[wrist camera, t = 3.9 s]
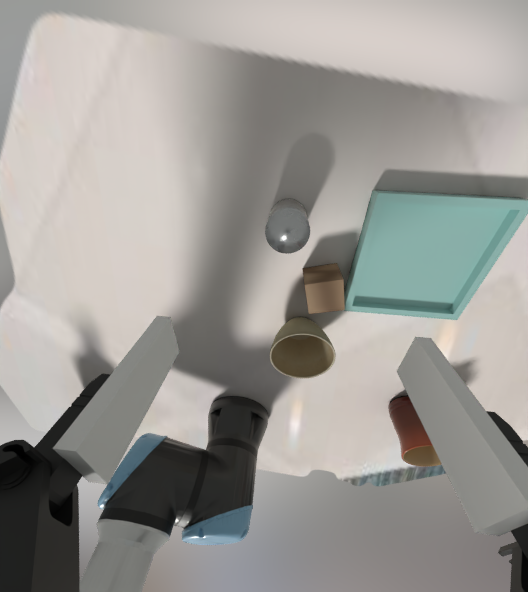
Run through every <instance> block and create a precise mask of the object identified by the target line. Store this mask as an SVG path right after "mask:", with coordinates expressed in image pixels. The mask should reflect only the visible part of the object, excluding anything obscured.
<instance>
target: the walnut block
mask: <svg viewBox="0 0 528 592" xmlns="http://www.w3.org/2000/svg"><path fill="white" fill-rule="evenodd" d="M303 275H304V284H305V291H306V298H307V305H308V311H309V314H314V313H322V312H331V311H339V310H345V304H344V280H343V277H342V275H341V272H340V270H339V267H338V265H337V263H334V264H327V265H321V266H315V267H309V268H303Z"/></svg>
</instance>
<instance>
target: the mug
mask: <svg viewBox="0 0 528 592" xmlns="http://www.w3.org/2000/svg"><path fill="white" fill-rule="evenodd" d="M388 408H389V414H390V418H391V420H392V422H393V425H394V427H395V430H396V432H397V435H398V437H399V440H400V445H401V456H402V459H403V460H404V461H405V462H406V463H408V464H411V465H415V466H436V465H441V464H442V463H441V461H440V459H439V457H438V455H437V453H436V451H435V449H434V447H433V445H432V443H431V441H430V439H429V437H428V435H427V433H426V431H425V428H424V426H423V424H422V422H421V420H420V418H419V416H418V414H417V412H416V410H415V408H414V406H413V404H412V402H411V400H410V398H409V396H404V397H399V398H396V399H394V400H393V401H392V402H391V403H390V404H389V407H388Z"/></svg>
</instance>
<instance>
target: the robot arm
mask: <svg viewBox="0 0 528 592" xmlns="http://www.w3.org/2000/svg"><path fill="white" fill-rule="evenodd" d="M178 353H179V348H178V344H177V340H176V336H175V332H174V329H173V325H172V321H171V317H164V316H157V317H156V318H155V319H154V321H153V322H152V323H151V324H150V326H149V327H148V328H147V330H146V331H145V332H144V333H143V335H142V336H141V337H140V338H139V340H138V341H137V342H136V343H135V345H134V346H133V347H132V349H131V350H130V351H129V352H128V354H127V355H126V356H125V357H124V359H123V360H122V361H121V362H120V364H119V365H118V366H117V368H116V369H115V370H114V371H113V373H112V374H111V375H109V374H101V375H100V376H99V377H97V378H96V379H95V380H93V381H92V382H91V383H89V384H88V386H87V387H86V388H85V389H84V390H83V391H82V393H81V394H80V396H79V397H77V399H76V400H75V401H74V402H73V403H72V406H71V407H69V408H68V409H67V410H66V411H65V413H64V414H63V415H62V416H61V417H60V419H59V420H58V421H57V422H56V423H55V424H54V426H53V427H52V428H51V429H50V430H49V431H48V433H47V434H46V435H45V436H44V437H43V439H42V440H41V441H40V442H39V443H38V444H37V445H36V446H35V447H33V446H31V445H30V444H29V443H27V442H26V441H24V440H14V441H11V442H8V443H5V444H3V445H1V446H0V592H142V589H143V586H144V583H145V580H146V577H147V574H148V571H149V568H150V565H151V562H152V559H153V556H154V554H155V553H156V551H157V550H158V549H159V548H160V547H161V546H162V545H164V544H165V543H166V542H167V541H168V540H169V537H170V535H171V531H172V528H173V525H174V526H179V527H182V528H184V530H183V531H182V540H183V541H184V542H186V543H187V542H188V543H191V544H201V545H218V544H230V543H235V542H239V541H241V540H243V539H244V538H245V536H246V535H247V533H248V530H249V525H250V518H251V511H252V509H253V505H252V503H253V493H254V482H255V472H256V462H257V453H258V448H259V446H260V443H261V441H262V438H263V436H264V433H265V431H266V428H267V424H268V413H267V411H266V410H265V408H264V407H263V406H261V405H260V404H258V403H257V402H255V401H253V400H250V399H247V398H242V397H224V398H220V399H218V400H216V401H215V402H213V404H212V405H211V408H210V411H209V415H208V445H207V448H206V450H204V449H201V448H198V447H195V446H192V445H189V444H185V443H182V442H179V441H176V440H173V439H170V438H168V437H167V436H160V435H156V434H152V433H147V434H144V435H142V436H141V437H140V438H139V439H138V440H137V441H136V442H135V444H134V445H133V446H132V448H131V449H130V451H129V452H128V454H127V455H126V456H125V458H124V460H123V461H122V462H121V464H120V465H119V463H120V461H121V459H122V457H123V455H124V454H125V452H126V450H127V448H128V446H129V444H130V442H131V441H132V439H133V437H134V435H135V433H136V431H137V429H138V428H139V426H140V424H141V422H142V420H143V418H144V416H145V415H146V413H147V411H148V409H149V407H150V405H151V404H152V402H153V400H154V398H155V396H156V394H157V392H158V391H159V389H160V387H161V385H162V383H163V381H164V379H165V378H166V376H167V374H168V372H169V370H170V368H171V366H172V365H173V363H174V361H175V359H176V357H177V355H178ZM397 373H398V375H399V377H400V379H401V381H402V383H403V385H404V387H405V389H406V391H407V394H408V396H409V398H410V400H411V402H412V404H413V406H414V408H415V410H416V412H417V414H418V416H419V418H420V420H421V422H422V424H423V426H424V428H425V431H426V433H427V435H428V437H429V439H430V441H431V443H432V445H433V447H434V449H435V451H436V453H437V455H438V457H439V459H440V461H441V463H442V465H443V468H444V470H445V472H446V474H447V476H448V478H449V480H450V482H451V484H452V486H453V488H454V490H455V492H456V494H457V496H458V498H459V500H460V502H461V504H462V507H463V509H464V511H465V513H466V515H467V517H468V519H469V521H470V523H471V525H472V527H473V529H474V531H475V533H481V534H489V535H496V536H500V535H503V534H505V533H507V532H510V531H511V532H512V534H513V536H514V537H515V539H516V541H517V542H514V543H511V544H508V545H506V546H503V547H501V548H500V550H499V552H498V553H499V554H500V555H501V556H506V555H509V554H512V559H511V560H510V561H509V562H510V563H511V564H512V570H511V589H510V592H528V447H527V446H526V445H525V444H523V441H522V440H521V438H520V437H519V436H518V435H517V433H516V432H515V431H514V430H513V428H512V427H511V426H510V425H509V424H508V423H507V422H505V421H504V420H503V419H502V418H501V417H500V416H498V415H497V414H496V413H495V412H488V411H485V409H484V408H483V407H482V405H481V404H480V403H479V401H478V400H477V399H476V397H475V396H474V395H473V393H472V392H471V391H470V390H469V388H468V387H467V386H466V384H465V383H464V382H463V380H462V379H461V378H460V376H459V375H458V374H457V372H456V371H455V370H454V368H453V367H452V366H451V364H450V363H449V362H448V360H447V359H446V358H445V356H444V355H443V354H442V352H441V351H440V350H439V348H438V347H437V346H436V344H435V343H434V342H433V340H432V339H431V338H423V337H415V339H414V341H413V342H412V344H411V346H410V348H409V350H408V352H407V353H406V355H405V357H404V359H403V361H402V363H401V364H400V366H399V368H398V370H397ZM118 465H119V467H118ZM117 467H118V468H117ZM116 468H117V470H116ZM115 470H116V471H115ZM114 472H115V473H114ZM113 474H114V475H113ZM82 476H83V477H84V478H85V479H86V480H87V481H88V482H93V483H101V484H108V485H107V487H106V488H105V490H104V491H103V493H102V494H101V496H100V498H99V500H98V506H99V507H100V509H104V510H103V512H102V514H101V516H100V518H99V520H98V522H97V529H98V535H99V542H98V545H97V547H96V549H95V551H94V553H93V555H92V557H91V559H90V561H89V563H88V565H87V567H86V569H85V572H84V573H83V576H82V578H81V580H80V582H79V508H78V507H79V506H78V487H77V483H78V482H79V480H80V479H81V477H82ZM110 479H111V480H110ZM109 481H110V482H109Z"/></svg>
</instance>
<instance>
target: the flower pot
mask: <svg viewBox="0 0 528 592" xmlns="http://www.w3.org/2000/svg"><path fill="white" fill-rule="evenodd" d="M270 360H271V363H272V365H273V366H274V368H275V369H276V370H278V371H279V372H280V373H282V374H284V375H286V376H289V377H293V378H312V377H316V376H319V375H321V374H323V373H325V372H326V371H328V370H329V369H330V368H331V367H332V365H333V364H334V361H335V350H334V348H333V346H332V344H331V342H330V340H329V338H328V337H327V335H326V334H325V332H324V331H323V330H322V329H321V328H320V327H319V326H318V325H317V324H316V323H314V322H313V321H311V320H309V319H307V318H304V317H296V318H293V319H291V320H289V321H288V322H287V323H286V324H285V325H284V326H283V327H282V328H281V329H280V330H279V332H278V334H277V335H276V337H275V339H274V342H273V344H272V347H271V351H270Z"/></svg>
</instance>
